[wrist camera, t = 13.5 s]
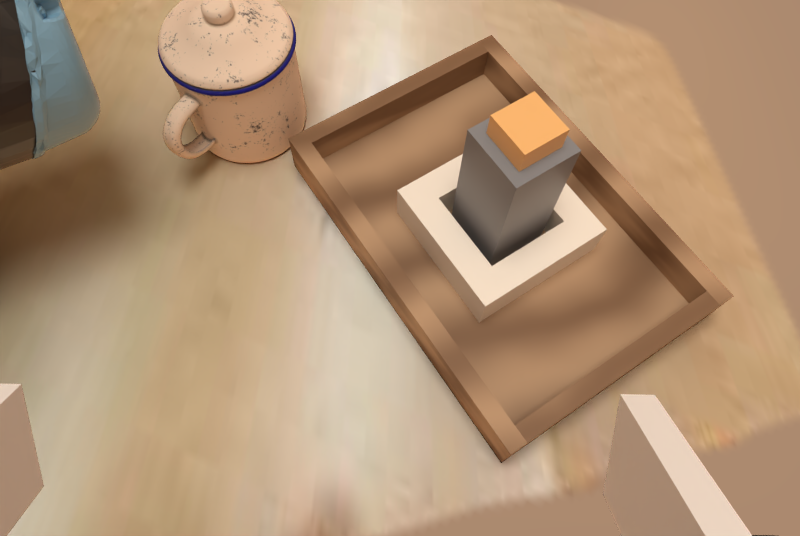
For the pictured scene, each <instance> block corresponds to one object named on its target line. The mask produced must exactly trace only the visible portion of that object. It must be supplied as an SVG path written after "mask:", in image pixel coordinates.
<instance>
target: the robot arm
mask: <svg viewBox="0 0 800 536" xmlns="http://www.w3.org/2000/svg"><path fill="white" fill-rule="evenodd" d="M99 113H100V101H99V97H98V94H97V92H96V89H95V87H94V84H93V82H92V79H91V77H90V74H89V72H88V69H87V67H86V64H85V62H84V59H83V57H82V54H81V52H80V49H79V47H78V44H77V42H76V39H75V37H74V34H73V32H72V29H71V27H70V24H69V22H68V19H67V17H66V14H65V12H64V9H63V7H62V4H61V2H60V0H0V169H3V168H6V167H9V166H12V165H14V164H17V163H20V162H23V161H26V160H29V159H31V158H38V157H40V156H42V155H43V154H44V153H45V151H47V150H49V149H51V148H53V147H56V146H58V145H60V144H62V143H65V142H67V141H69V140H71V139H74V138H76V137H78V136H80V135H82V134H85V133H86V132H87V131H89V130H90V129H91V127H92V126H93V125H94V124H95V123H96V121H97V119H98V116H99ZM43 487H44V485H43V480H42V476H41V471H40V467H39V462H38V457H37V453H36V448H35V444H34V439H33V435H32V430H31V426H30V421H29V417H28V412H27V408H26V403H25V399H24V394H23V389H22V385H21V384H0V536H7V535H8V533H9V532H10V531H11V529H12V528H13V527H14V525H15V524H16V523H17V521H18V520H19V519H20V517H21V516H22V515H23V513H24V512H25V511H26V509H27V508H28V507H29V505H30V504H31V503H32V501H33V500H34V499H35V497H36V496H37V495H38V493H39V492H40V491H41V489H42V488H43ZM603 496H604V498H605V500H606V503H607V505H608V507H609V509H610V512H611V514H612V516H613V518H614V521H615V523H616V525H617V528H618V530H619V532H620V534H621V536H768V535H751V533H750V532H749V530H748V529H747V528H746V526H745V525H744V523H743V522H742V520H741V519H740V517H739V516H738V515H737V513H736V512H735V510H734V509H733V507H732V506H731V504H730V503H729V501H728V500H727V499H726V497H725V496H724V494H723V493H722V491H721V490H720V489H719V487H718V486H717V484H716V483H715V481H714V480H713V478H712V477H711V475H710V474H709V473H708V471H707V470H706V468H705V467H704V465H703V464H702V462H701V461H700V460H699V458H698V457H697V455H696V454H695V452H694V451H693V449H692V448H691V447H690V445H689V444H688V442H687V441H686V439H685V438H684V436H683V435H682V433H681V432H680V431H679V429H678V428H677V426H676V425H675V423H674V422H673V420H672V419H671V418H670V416H669V415H668V413H667V412H666V410H665V409H664V407H663V406H662V405H661V403H660V402H659V400H658V399H657V397H656V396H655V395H630V394H620V400H619V406H618V411H617V417H616V423H615V428H614V434H613V440H612V445H611V451H610V457H609V463H608V468H607V474H606V480H605V485H604V491H603ZM769 536H770V535H769Z"/></svg>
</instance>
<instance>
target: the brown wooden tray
mask: <svg viewBox="0 0 800 536" xmlns="http://www.w3.org/2000/svg"><path fill="white" fill-rule="evenodd" d="M534 91H535V92H536V93H537V94H538V95H539V96H540V97H541V98H542V100H543V101H544V102H545V103H546V104H547V105H548V106H549V107H550V108H551V109H552V111H553V112H554V113H555V114H556V115H557V116H558V117H559V118H560V119H561V120H562V121H563V123H564V124H565V125H566V126H567V127H568V128H569V129H570V130H569V132H568V136H569V137H570V139H571V140H572V141H573V142H574V143H575V144H576V145H577V146H578V147H579V148H580V149H581V153H580V155H579V157H578V159H577V161H576V163H575V165H574V167H573V169H572V171H571V173H570V176H569V178H568V180H567V182H566V184H567V185H568V186H569V187H570V188H571V189H572V190H573V192H574V193H575V194H576V195H577V196H578V197H579V198H580V200H581V201H582V202H583V203H584V204H585V205H586V206H587V207H588V209H589V210H590V211H591V212H592V213H593V214H594V215H595V217H596V218H597V219H598V220H599V221H600V222H601V223H602V224H603V226H604V227H605V228H606V229H607V230H606V231H605V233H604V234H603V236H602V237H601V239H600V240H599V242H598V243H597V245H596V246H595V248H594V249H593V250H592V251H590V252H588V253H587V254H585V255H584V256H582V257H581V258H579V259H578V260H576V261H574V262H573V263H571V264H570V265H568V266H567V267H565V268H563V269H562V270H560V271H559V272H557V273H556V274H554V275H553V276H551V277H549V278H548V279H546V280H545V281H543V282H542V283H540V284H539V285H537V286H535V287H534V288H532V289H531V290H529V291H528V292H526V293H524V294H523V295H521V296H520V297H518V298H517V299H515V300H514V301H512V302H510V303H509V304H507V305H506V306H504V307H503V308H501V309H499V310H498V311H496V312H495V313H493V314H492V315H490V316H489V317H487V318H485V319H484V320H482V321H481V322H478V320H477V319H476V318H475V316H474V315H473V314H472V312H471V311H470V310H469V308H468V307H467V306H466V304H465V303H464V302H463V300H462V299H461V298H460V296H459V295H458V294H457V292H456V291H455V290H454V288H453V287H452V285H451V284H450V283H449V281H448V280H447V279H446V277H445V276H444V275H443V273H442V272H441V271H440V269H439V268H438V267H437V265H436V264H435V263H434V261H433V260H432V259H431V257H430V256H429V255H428V253H427V252H426V251H425V249H424V248H423V247H422V245H421V244H420V243H419V241H418V240H417V238H416V237H415V236H414V234H413V233H412V232H411V230H410V229H409V228H408V226H407V225H406V224H405V222H404V221H403V220H402V218H401V217H400V216H399V214H398V213H397V190H399V189H401V188H402V187H404V186H406V185H408V184H410V183H411V182H413V181H415V180H417V179H419V178H420V177H422V176H424V175H426V174H428V173H429V172H431V171H433V170H435V169H436V168H438V167H440V166H442V165H444V164H445V163H447V162H449V161H451V160H453V159H454V158H456V157H458V156H460V155H462V154H463V151H464V145H465V140H466V135H467V130H468V129H470V128H472V127H474V126H475V125H477V124H479V123H481V122H483V121H485V120H486V119H488V118H490V115H492V114H493V113H495V112H497V111H499V110H501V109H503V108H505V107H506V106H508V105H510V104H512V103H514V102H516V101H517V100H519V99H521V98H523V97H525V96H527V95H528V94H530V93H532V92H534ZM289 143H290V147H291V152H292V156H293V160H294V164H295V167H296V168H297V170H298V171H299V173H300V174H301V175H302V177H303V178H304V180H305V181H306V183H307V184H308V186H309V187H310V188H311V190H312V191H313V193H314V194H315V196H316V197H317V198H318V200H319V201H320V203H321V204H322V206H323V207H324V209H325V210H326V211H327V213H328V214H329V216H330V217H331V219H332V220H333V222H334V223H335V224H336V226H337V227H338V229H339V230H340V232H341V233H342V234H343V236H344V237H345V239H346V240H347V242H348V243H349V245H350V246H351V247H352V249H353V250H354V252H355V253H356V255H357V256H358V257H359V259H360V260H361V262H362V263H363V265H364V266H365V268H366V269H367V270H368V272H369V273H370V275H371V276H372V278H373V279H374V281H375V282H376V283H377V285H378V286H379V288H380V289H381V291H382V292H383V293H384V295H385V296H386V298H387V299H388V301H389V302H390V304H391V305H392V306H393V308H394V309H395V311H396V312H397V314H398V315H399V316H400V318H401V319H402V321H403V322H404V324H405V325H406V327H407V328H408V329H409V331H410V332H411V334H412V335H413V337H414V338H415V339H416V341H417V342H418V344H419V345H420V347H421V348H422V350H423V351H424V352H425V354H426V355H427V357H428V358H429V360H430V361H431V363H432V364H433V365H434V367H435V368H436V370H437V371H438V373H439V374H440V375H441V377H442V378H443V380H444V381H445V383H446V384H447V386H448V387H449V388H450V390H451V391H452V393H453V394H454V396H455V397H456V398H457V400H458V401H459V403H460V404H461V406H462V407H463V409H464V410H465V411H466V413H467V414H468V416H469V417H470V419H471V420H472V422H473V423H474V424H475V426H476V427H477V429H478V430H479V432H480V433H481V434H482V436H483V437H484V439H485V440H486V442H487V443H488V445H489V446H490V447H491V449H492V450H493V452H494V453H495V455H496V456H497V457H498V459H499V460H500V462H501V463H502V462H503V461H504V460H506V459H507V458H509V457H510V456H511V455H513V454H514V453H516V452H517V451H518V450H520V449H521V448H523V447H524V446H525V445H527V444H528V443H530V442H531V441H532V440H534V439H535V438H537V437H538V436H539V435H541V434H542V433H544V432H545V431H546V430H548V429H549V428H551V427H552V426H553V425H555V424H556V423H558V422H559V421H560V420H562V419H563V418H565V417H566V416H568V415H569V414H570V413H572V412H573V411H575V410H576V409H577V408H579V407H580V406H582V405H583V404H584V403H586V402H587V401H589V400H590V399H591V398H593V397H594V396H596V395H597V394H598V393H600V392H601V391H603V390H604V389H605V388H607V387H608V386H610V385H611V384H612V383H614V382H615V381H617V380H618V379H619V378H621V377H622V376H624V375H625V374H626V373H628V372H629V371H631V370H632V369H633V368H635V367H636V366H638V365H639V364H640V363H642V362H643V361H645V360H646V359H647V358H649V357H650V356H652V355H653V354H654V353H656V352H657V351H659V350H660V349H661V348H663V347H664V346H666V345H667V344H668V343H670V342H671V341H673V340H674V339H675V338H677V337H678V336H680V335H681V334H683V333H684V332H685V331H687V330H688V329H690V328H691V327H692V326H694V325H695V324H697V323H698V322H699V321H701V320H702V319H704V318H705V317H706V316H708V315H709V314H710V313H712V312H713V311H714V310H716V309H717V308H718V307H720V306H721V305H722V304H724V303H725V302H726V301H728V300H729V299H730V298H732V297H733V295H732V294H731V292H730V291H729V290H728V289H727V288H726V287H725V286H724V285H723V284H722V283H721V282H720V281H719V280H718V278H717V277H716V276H715V275H714V274H713V273H712V272H711V271H710V270H709V269H708V268H707V267H706V266H705V264H704V263H703V262H702V261H701V260H700V259H699V258H698V257H697V256H696V255H695V254H694V253H693V252H692V250H691V249H690V248H689V247H688V246H687V245H686V244H685V243H684V242H683V241H682V240H681V239H680V238H679V236H678V235H677V234H676V233H675V232H674V231H673V230H672V229H671V228H670V227H669V226H668V225H667V224H666V222H665V221H664V220H663V219H662V218H661V217H660V216H659V215H658V214H657V213H656V212H655V211H654V210H653V208H652V207H651V206H650V205H649V204H648V203H647V202H646V201H645V200H644V199H643V198H642V197H641V196H640V194H639V193H638V192H637V191H636V190H635V189H634V188H633V187H632V186H631V185H630V184H629V183H628V182H627V180H626V179H625V178H624V177H623V176H622V175H621V174H620V173H619V172H618V171H617V170H616V169H615V168H614V166H613V165H612V164H611V163H610V162H609V161H608V160H607V159H606V158H605V157H604V156H603V155H602V154H601V152H600V151H599V150H598V149H597V148H596V147H595V146H594V145H593V144H592V143H591V142H590V141H589V140H588V138H587V137H586V136H585V135H584V134H583V133H582V132H581V131H580V130H579V129H578V128H577V127H576V126H575V124H574V123H573V122H572V121H571V120H570V119H569V118H568V117H567V116H566V115H565V114H564V113H563V112H562V110H561V109H560V108H559V107H558V106H557V105H556V104H555V103H554V102H553V101H552V100H551V99H550V98H549V96H548V95H547V94H546V93H545V92H544V91H543V90H542V89H541V88H540V87H539V86H538V85H537V84H536V82H535V81H534V80H533V79H532V78H531V77H530V76H529V75H528V74H527V73H526V72H525V71H524V70H523V68H522V67H521V66H520V65H519V64H518V63H517V62H516V61H515V60H514V59H513V58H512V57H511V56H510V54H509V53H508V52H507V51H506V50H505V49H504V48H503V47H502V46H501V45H500V44H499V43H498V42H497V40H496V39H495V38H494V37H493V36H492V35H491V36H489V37H487V38H485V39H483V40H481V41H479V42H477V43H475V44H473V45H471V46H469V47H467V48H465V49H463V50H461V51H459V52H457V53H455V54H453V55H451V56H449V57H447V58H445V59H443V60H442V61H440V62H438V63H436V64H434V65H432V66H430V67H428V68H426V69H424V70H422V71H420V72H418V73H416V74H414V75H412V76H410V77H408V78H406V79H404V80H402V81H400V82H398V83H396V84H394V85H392V86H391V87H389V88H387V89H385V90H383V91H381V92H379V93H377V94H375V95H373V96H371V97H369V98H367V99H365V100H363V101H361V102H359V103H357V104H355V105H353V106H351V107H349V108H347V109H345V110H343V111H341V112H340V113H338V114H336V115H334V116H332V117H330V118H328V119H326V120H324V121H322V122H320V123H318V124H316V125H314V126H312V127H310V128H308V129H306V130H304V131H302V132H300V133H298V134H296V135H294V136H292V137H290V138H289ZM449 212H450V213H451V215H452V210H451V211H449ZM545 233H546V232H545V231H544V230H543V232H542V234H541V235H543V234H545Z"/></svg>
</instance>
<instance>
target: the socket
mask: <svg viewBox="0 0 800 536" xmlns="http://www.w3.org/2000/svg"><path fill="white" fill-rule="evenodd" d="M462 156H463V154H462V155H460V156H458V157H456V158H454V159H453V160H451V161H449V162H447V163H445V164H444V165H442V166H440V167H438V168H436V169H435V170H433V171H431V172H429V173H428V174H426V175H424V176H422V177H420V178H419V179H417V180H415V181H413V182H411V183H410V184H408V185H406V186H404V187H402V188H401V189H399V190H397V213H398V214H399V216H400V217H401V218H402V220H403V221H404V222H405V224H406V225H407V226H408V228H409V229H410V230H411V232H412V233H413V234H414V236H415V237H416V238H417V240H418V241H419V243H420V244H421V245H422V247H423V248H424V249H425V251H426V252H427V253H428V255H429V256H430V257H431V259H432V260H433V261H434V263H435V264H436V265H437V267H438V268H439V269H440V271H441V272H442V273H443V275H444V276H445V277H446V279H447V280H448V281H449V283H450V284H451V285H452V287H453V288H454V290H455V291H456V292H457V294H458V295H459V296H460V298H461V299H462V300H463V302H464V303H465V304H466V306H467V307H468V308H469V310H470V311H471V312H472V314H473V315H474V316H475V318H476V319H477V320H478V322H481V321H482V320H484V319H485V318H487V317H489V316H490V315H492V314H493V313H495V312H496V311H498V310H499V309H501V308H503V307H504V306H506V305H507V304H509V303H510V302H512V301H514V300H515V299H517V298H518V297H520V296H521V295H523V294H524V293H526V292H528V291H529V290H531V289H532V288H534V287H535V286H537V285H539V284H540V283H542V282H543V281H545V280H546V279H548V278H549V277H551V276H553V275H554V274H556V273H557V272H559V271H560V270H562V269H563V268H565V267H567V266H568V265H570V264H571V263H573V262H574V261H576V260H578V259H579V258H581V257H582V256H584V255H585V254H587V253H588V252H590V251H592V250H593V249H594V248H595V246H596V245H597V243H598V242H599V240H600V239H601V237H602V236H603V234H604V233H605V231H606V230H607V229H606V228H605V227H604V226H603V224H602V223H601V222H600V221H599V220H598V219H597V218H596V217H595V215H594V214H593V213H592V212H591V211H590V210H589V209H588V207H587V206H586V205H585V204H584V203H583V202H582V201H581V200H580V198H579V197H578V196H577V195H576V194H575V193H574V192H573V190H572V189H571V188H570V187H569V186H568V185H567V184H565V186H564V188H563V190H562V192H561V194H560V196H559V199H558V201H557V203H556V205H555V207H554V209H553V211H552V213H551V215H550V217H549V219H548V222H547V224H546V226H545V228H544V231H545V232H546V233H545V234H543V235H541V236H540V237H538V238H537V239H535V240H533V241H532V242H530V243H529V244H527V245H525V246H524V247H522V248H520V249H519V250H517V251H516V252H514V253H512V254H511V255H509V256H508V257H506V258H504V259H503V260H501V261H499V262H498V263H496V264H495V265H493V266H491V264H490V263H489V262H488V261H487V259H486V258H485V257H484V255H483V254H482V253H481V252H480V250H479V249H478V248H477V247H476V245H475V244H474V243H473V241H472V240H471V239H470V238H469V236H468V235H467V234H466V232H465V231H464V230H463V229H462V227H461V226H460V225H459V223H458V222H457V221H456V220H455V218H454V217H453V216H452V215H451V213H450V212H449V211H451V210H452V209H453V204H454V199H455V193H456V188H457V183H458V177H459V172H460V167H461V161H462Z"/></svg>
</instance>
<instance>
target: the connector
mask: <svg viewBox="0 0 800 536" xmlns="http://www.w3.org/2000/svg"><path fill="white" fill-rule="evenodd" d="M569 130H570V129H569V128H568V127H567V126H566V125H565V124H564V123H563V121H562V120H561V119H560V118H559V117H558V116H557V115H556V114H555V113H554V112H553V111H552V109H551V108H550V107H549V106H548V105H547V104H546V103H545V102H544V101H543V100H542V98H541V97H540V96H539V95H538V94H537V93H536V92H535V91H534V92H532V93H530V94H528V95H527V96H525V97H523V98H521V99H519V100H517V101H516V102H514V103H512V104H510V105H508V106H506V107H505V108H503V109H501V110H499V111H497V112H495V113H493V114H492V115H490V118H488V119H486V120H485V121H483V122H481V123H479V124H477V125H475V126H474V127H472V128H470V129H468V130H467V135H466V140H465V145H464V151H463V156H462V161H461V167H460V172H459V177H458V183H457V188H456V193H455V199H454V204H453V209H452V216H453V217H454V218H455V220H456V221H457V222H458V223H459V225H460V226H461V227H462V229H463V230H464V231H465V232H466V234H467V235H468V236H469V238H470V239H471V240H472V241H473V243H474V244H475V245H476V247H477V248H478V249H479V250H480V252H481V253H482V254H483V255H484V257H485V258H486V259H487V261H488V262H489V263H490V264H491V266H493V265H495V264H496V263H498V262H499V261H501V260H503V259H504V258H506V257H508V256H509V255H511V254H512V253H514V252H516V251H517V250H519V249H520V248H522V247H524V246H525V245H527V244H529V243H530V242H532V241H533V240H535V239H537V238H538V237H540V236H541V234H542V232H543V230H544V228H545V226H546V224H547V222H548V219H549V217H550V215H551V213H552V211H553V209H554V207H555V205H556V203H557V201H558V199H559V196H560V194H561V192H562V190H563V188H564V186H565V184H566V182H567V180H568V178H569V176H570V173H571V171H572V169H573V167H574V165H575V163H576V161H577V159H578V157H579V155H580V153H581V149H580V148H579V147H578V146H577V145H576V144H575V143H574V142H573V141H572V140H571V139H570V137H569V136H568V132H569Z"/></svg>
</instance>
